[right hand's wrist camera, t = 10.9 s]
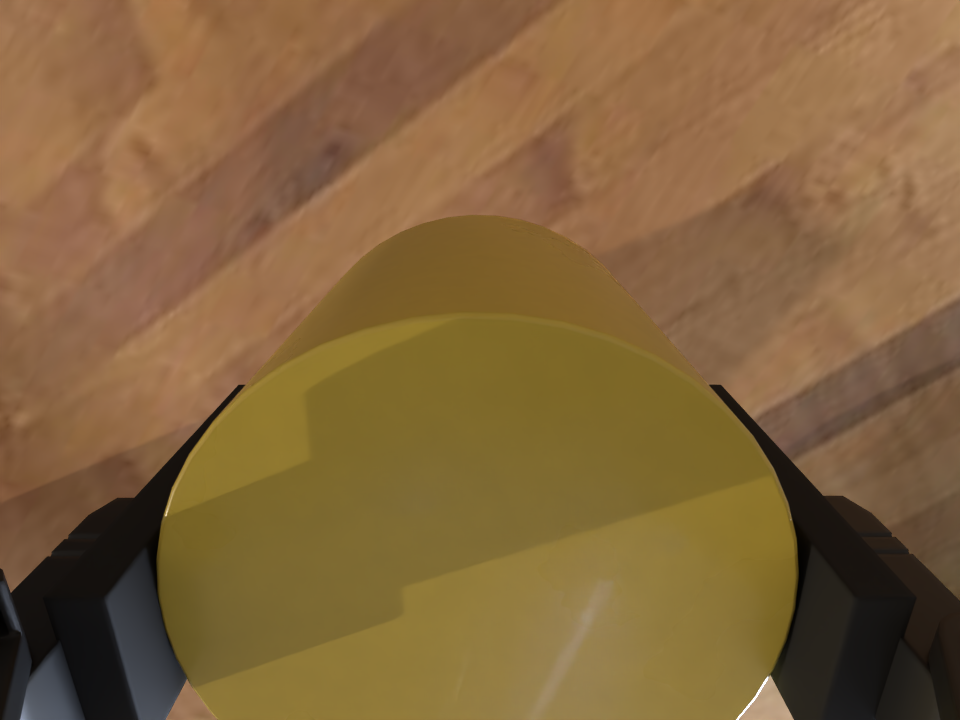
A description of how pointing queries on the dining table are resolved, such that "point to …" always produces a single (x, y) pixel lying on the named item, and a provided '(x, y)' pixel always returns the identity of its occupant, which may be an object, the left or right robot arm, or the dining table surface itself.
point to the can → (477, 506)
